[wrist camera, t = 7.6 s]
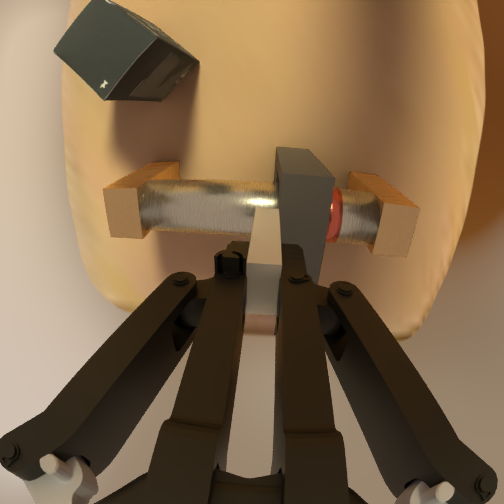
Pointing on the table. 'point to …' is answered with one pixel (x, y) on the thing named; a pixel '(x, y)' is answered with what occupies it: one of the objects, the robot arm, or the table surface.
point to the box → (123, 54)
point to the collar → (304, 203)
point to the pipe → (253, 208)
